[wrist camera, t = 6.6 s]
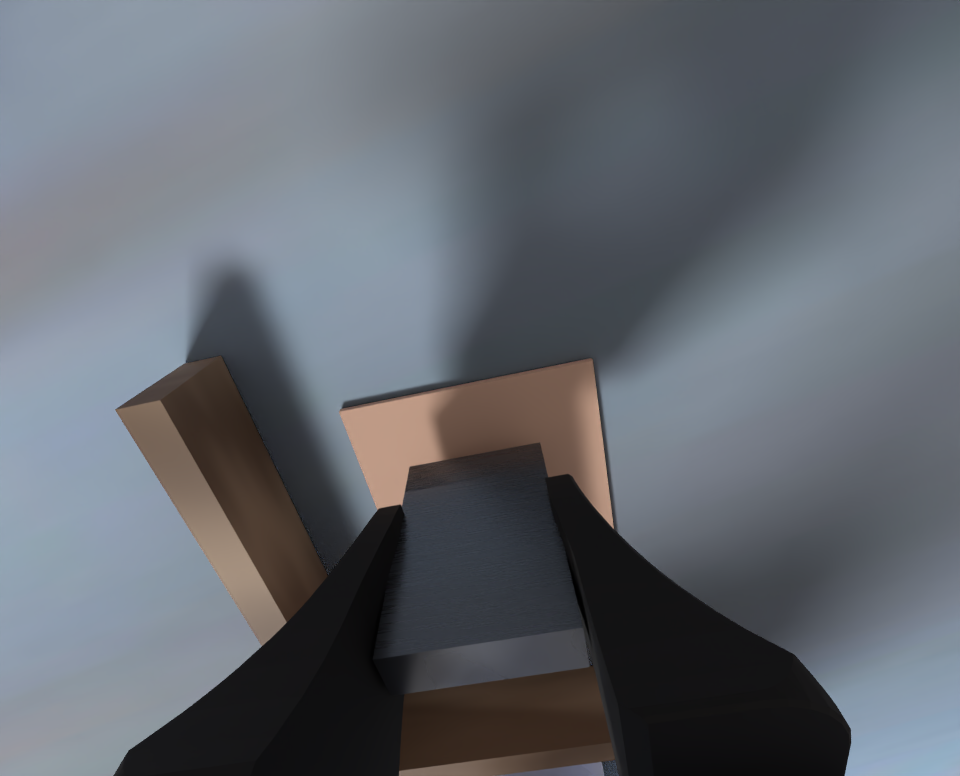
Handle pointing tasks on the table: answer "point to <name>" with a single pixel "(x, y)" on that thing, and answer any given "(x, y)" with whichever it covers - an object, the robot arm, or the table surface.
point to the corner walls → (299, 572)
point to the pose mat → (486, 429)
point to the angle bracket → (478, 578)
